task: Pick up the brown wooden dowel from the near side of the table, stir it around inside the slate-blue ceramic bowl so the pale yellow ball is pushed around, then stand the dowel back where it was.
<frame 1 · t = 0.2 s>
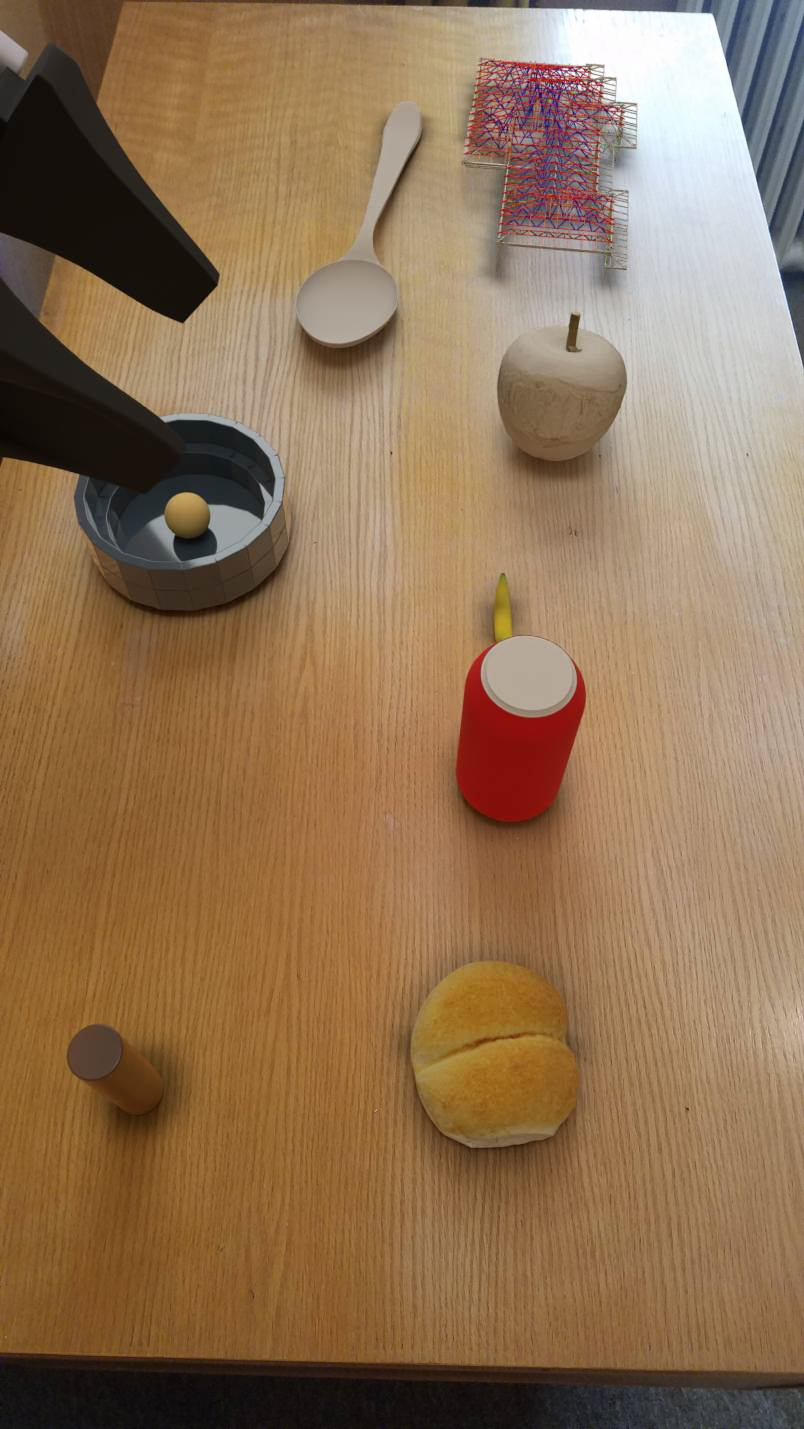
hand: (184, 378, 31), 32 cm above the table, tool tilted 45°, fingers open, 7 cm apart
beverage can: (506, 783, 61), on the table
roof frame: (546, 180, 91), on the table
bowl: (193, 538, 70), on the table
fruit: (502, 631, 66), on the table
bread roll: (494, 1060, 53), on the table
decorative object: (551, 442, 75), on the table
ball: (187, 515, 68), point 2 cm above the table, touching bowl
brown wooden dowel: (140, 1090, 52), on the table
spoon: (374, 233, 87), on the table
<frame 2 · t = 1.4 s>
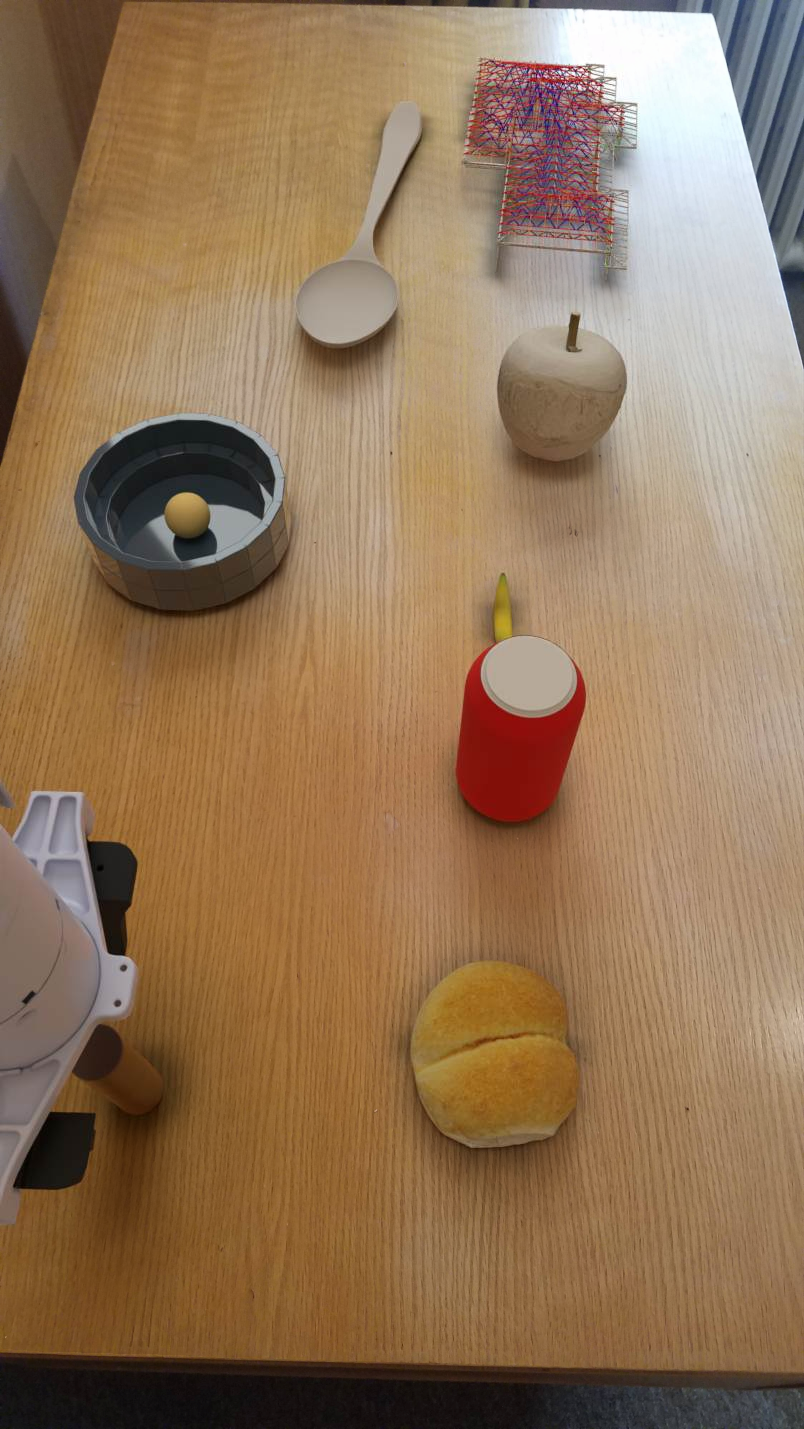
hand: (86, 1043, 43), 10 cm above the table, tool pointing down, fingers open, 7 cm apart
nothing on the table moved.
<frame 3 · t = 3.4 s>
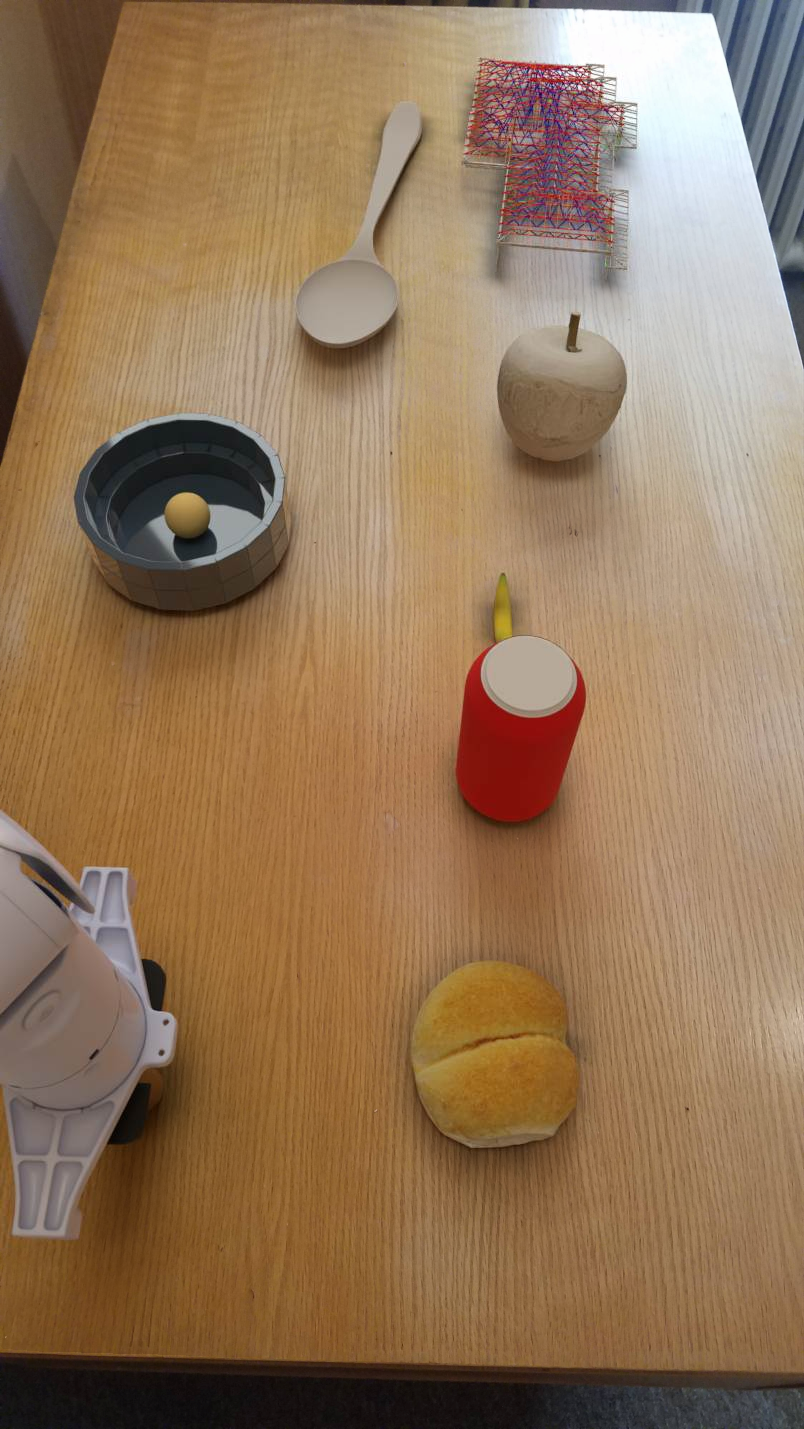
hand: (127, 1079, 49), 3 cm above the table, tool pointing down, fingers closed on brown wooden dowel, 2 cm apart
brown wooden dowel: (140, 1089, 52), on the table, touching gripper
everything else where it was.
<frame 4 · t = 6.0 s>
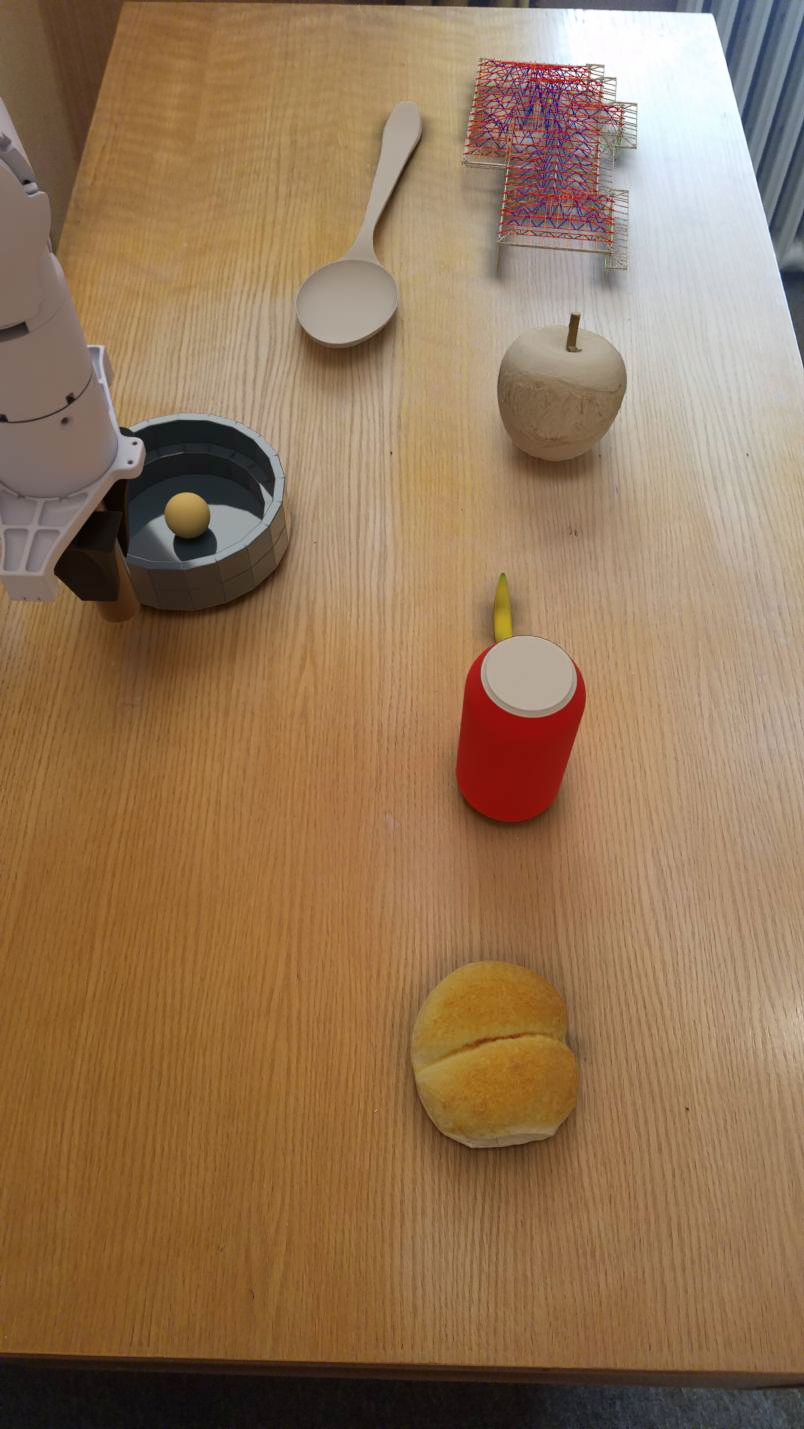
hand: (104, 574, 55), 10 cm above the table, tool pointing down, fingers closed on brown wooden dowel, 2 cm apart
brown wooden dowel: (119, 606, 57), point 8 cm above the table, touching gripper
everything else where it was.
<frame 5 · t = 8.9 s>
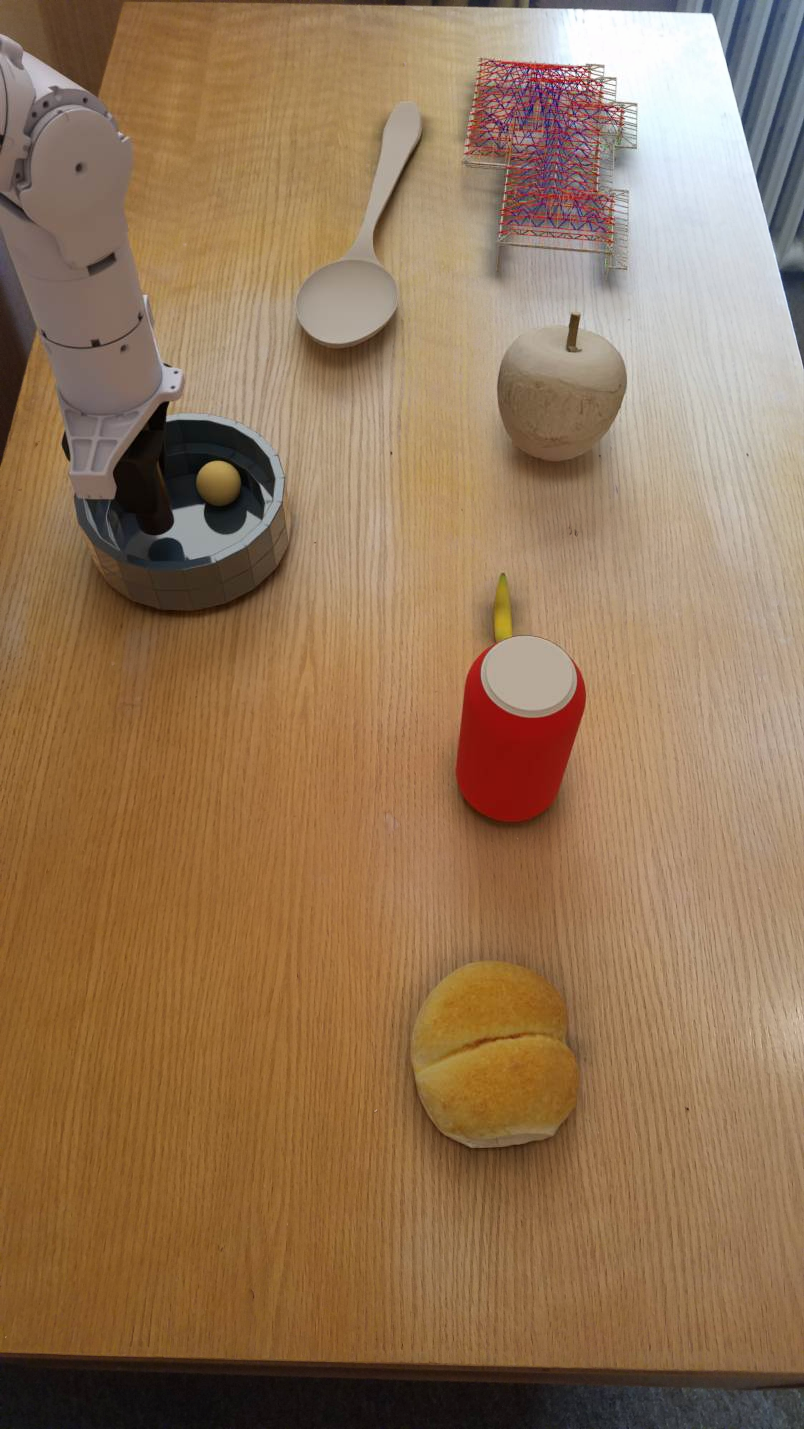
hand: (145, 492, 65), 5 cm above the table, tool pointing down, fingers closed on brown wooden dowel, 2 cm apart
ball: (218, 483, 69), point 2 cm above the table, tilted 129°, touching bowl
brown wooden dowel: (156, 522, 67), point 2 cm above the table, touching gripper
everything else where it was.
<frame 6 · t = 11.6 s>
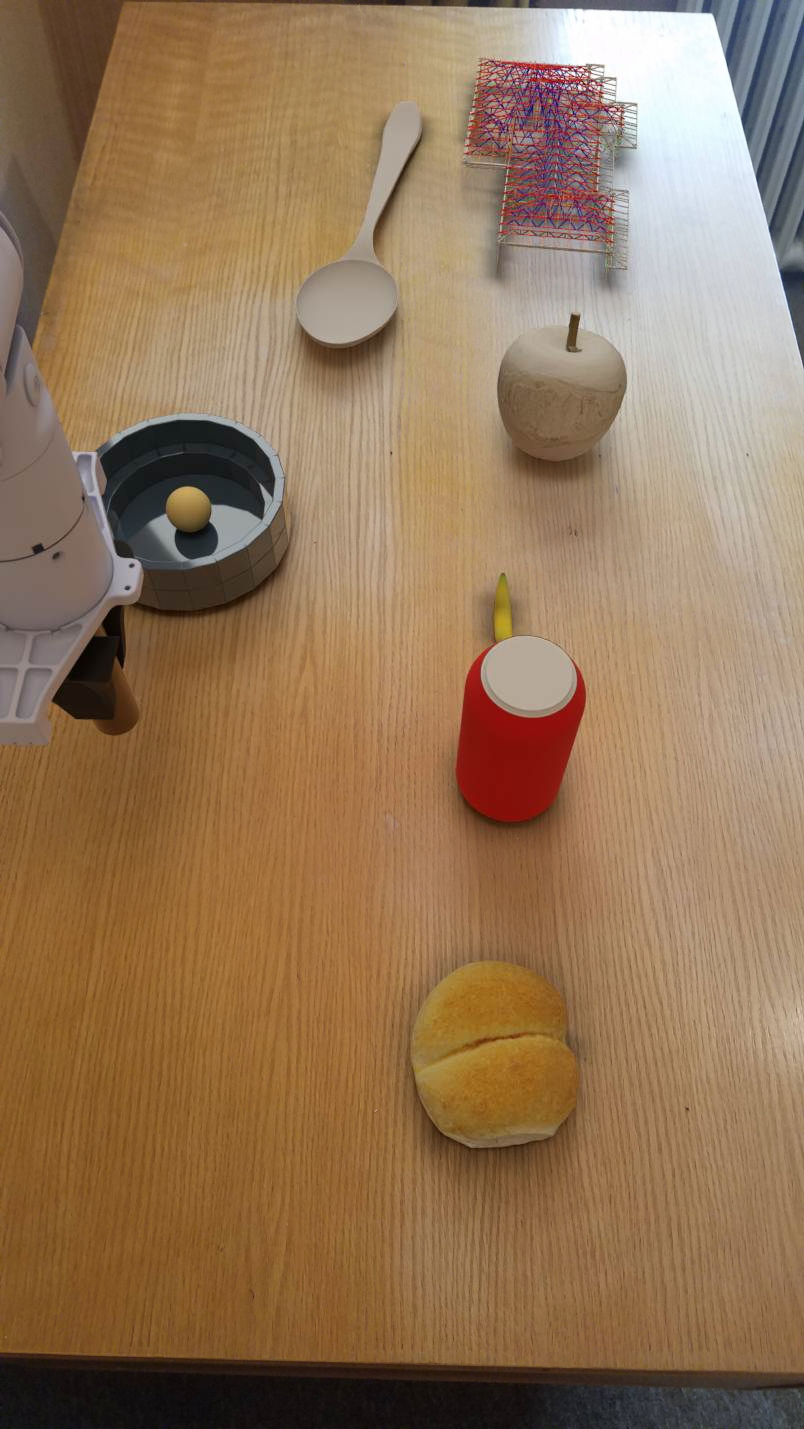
hand: (99, 688, 51), 10 cm above the table, tool pointing down, fingers closed on brown wooden dowel, 2 cm apart
ball: (188, 509, 68), point 2 cm above the table, tilted 17°, touching bowl
brown wooden dowel: (117, 716, 54), point 8 cm above the table, touching gripper
everything else where it was.
when the fingers open (3 cm above the table, at t = 14.9 s): brown wooden dowel stays where it is, on the table.
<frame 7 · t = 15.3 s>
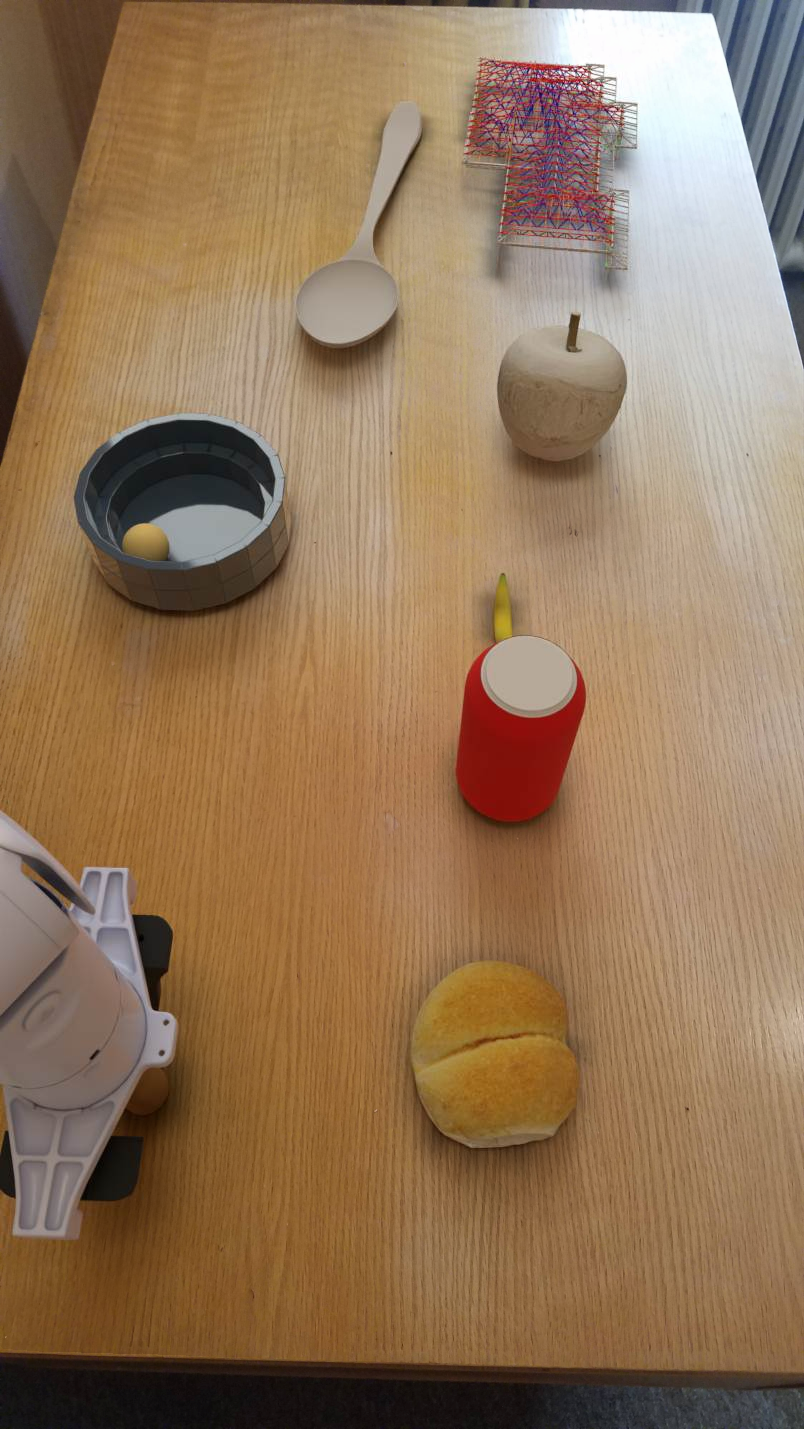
hand: (127, 1079, 49), 3 cm above the table, tool pointing down, fingers open, 6 cm apart
ball: (145, 546, 66), point 2 cm above the table, tilted 137°, touching bowl
brown wooden dowel: (145, 1090, 52), on the table
everything else where it was.
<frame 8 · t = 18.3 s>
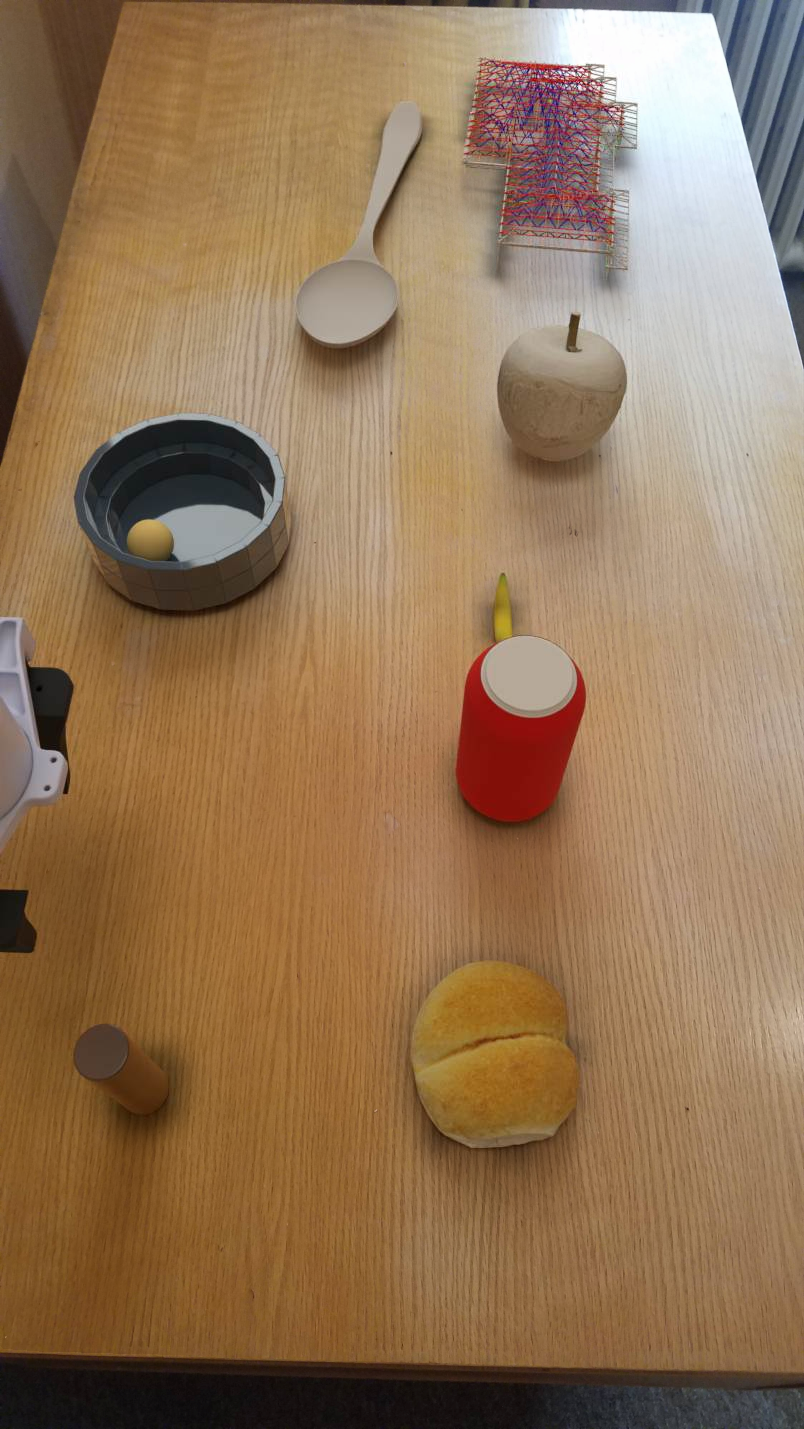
hand: (31, 862, 47), 10 cm above the table, tool pointing down, fingers open, 7 cm apart
ball: (150, 542, 67), point 2 cm above the table, tilted 121°, touching bowl
everything else where it was.
at the end: ball moved 3.2 cm from its start; ball inside the target area in the bowl (3.2 cm from its centre), point 2.3 cm above the bowl's base; brown wooden dowel 0.3 cm from the target spot, on the table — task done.
